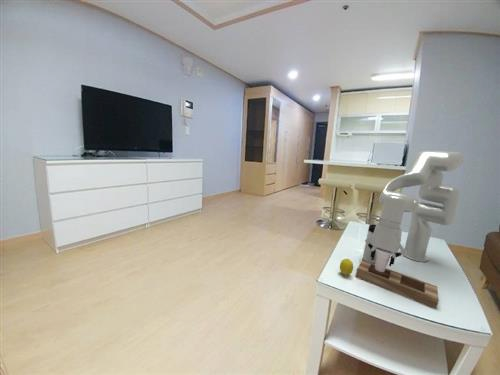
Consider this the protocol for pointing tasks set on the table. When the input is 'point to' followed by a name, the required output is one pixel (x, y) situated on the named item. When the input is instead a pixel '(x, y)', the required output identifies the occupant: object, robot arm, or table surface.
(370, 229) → the travel mug
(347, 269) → the lemon
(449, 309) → the table surface
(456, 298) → the table surface
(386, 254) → the smoothie
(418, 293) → the wooden frame
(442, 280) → the table surface
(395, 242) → the robot arm
